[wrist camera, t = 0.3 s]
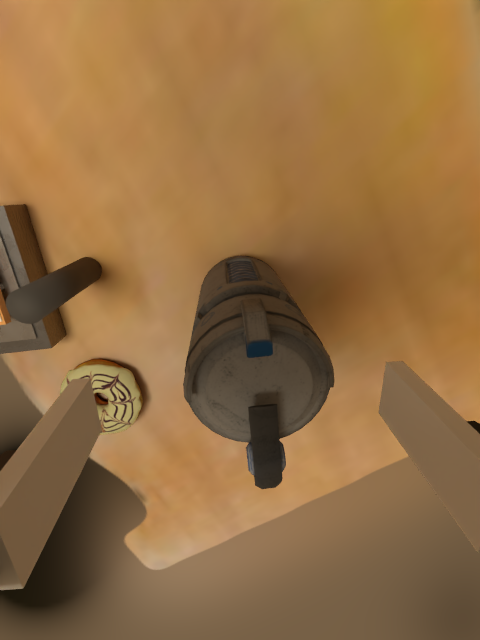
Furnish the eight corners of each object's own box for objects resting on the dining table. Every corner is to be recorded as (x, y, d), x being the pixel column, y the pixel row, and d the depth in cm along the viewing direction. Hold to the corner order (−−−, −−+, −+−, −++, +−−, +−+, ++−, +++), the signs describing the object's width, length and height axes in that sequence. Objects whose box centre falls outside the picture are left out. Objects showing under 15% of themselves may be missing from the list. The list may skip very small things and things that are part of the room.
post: (72, 258, 40) (0, 291, 27) (98, 255, 40) (37, 287, 27) (79, 282, 41) (13, 325, 28) (104, 280, 41) (49, 321, 28)
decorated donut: (138, 352, 45) (131, 366, 41) (150, 418, 49) (145, 435, 45) (59, 358, 44) (45, 373, 41) (78, 424, 48) (67, 442, 45)
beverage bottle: (208, 350, 45) (195, 521, 22) (194, 252, 40) (159, 336, 17) (282, 342, 45) (349, 503, 22) (278, 244, 40) (357, 315, 17)
